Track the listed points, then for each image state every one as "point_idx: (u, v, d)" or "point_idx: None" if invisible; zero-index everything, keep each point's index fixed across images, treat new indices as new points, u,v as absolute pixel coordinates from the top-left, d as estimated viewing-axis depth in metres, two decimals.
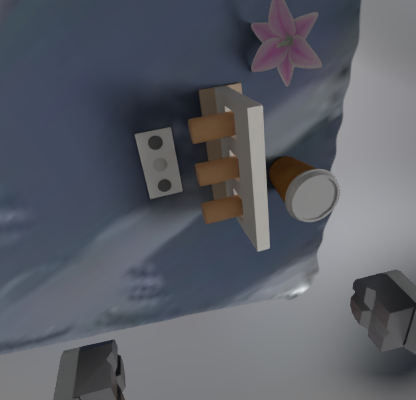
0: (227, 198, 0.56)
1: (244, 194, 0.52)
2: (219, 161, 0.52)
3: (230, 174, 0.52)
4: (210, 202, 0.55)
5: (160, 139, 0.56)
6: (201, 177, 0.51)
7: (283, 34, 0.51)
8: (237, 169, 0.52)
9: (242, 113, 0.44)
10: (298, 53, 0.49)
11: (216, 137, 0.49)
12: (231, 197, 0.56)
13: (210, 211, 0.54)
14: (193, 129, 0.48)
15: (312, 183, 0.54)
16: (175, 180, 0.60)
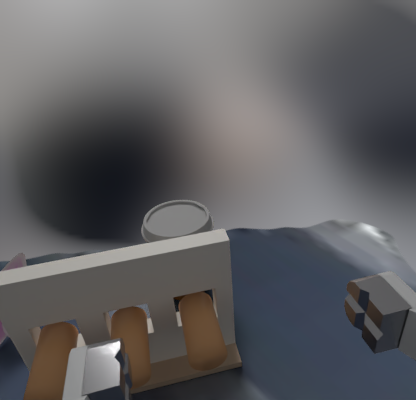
0: None
1: (153, 289, 0.33)
2: None
3: (127, 320, 0.33)
4: (186, 349, 0.32)
5: None
6: None
7: None
8: (123, 312, 0.34)
9: (4, 302, 0.30)
10: None
11: (62, 350, 0.31)
12: (181, 319, 0.35)
13: (194, 341, 0.31)
14: (31, 387, 0.28)
15: (155, 224, 0.43)
16: None
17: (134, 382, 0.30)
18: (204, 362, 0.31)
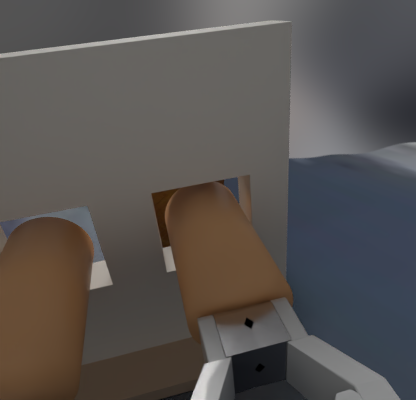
0: (171, 247, 0.14)
1: (98, 165, 0.13)
2: None
3: (32, 242, 0.13)
4: (182, 296, 0.12)
5: None
6: None
7: None
8: (27, 227, 0.14)
9: None
10: None
11: None
12: (169, 238, 0.15)
13: (203, 268, 0.11)
14: None
15: None
16: None
17: None
18: None
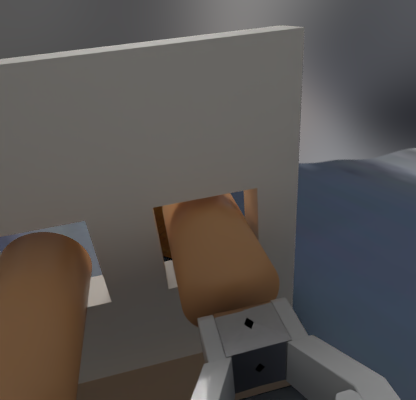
0: None
1: (96, 179, 0.12)
2: None
3: (25, 261, 0.12)
4: (177, 281, 0.13)
5: None
6: None
7: None
8: (21, 243, 0.13)
9: None
10: None
11: None
12: (166, 229, 0.16)
13: (196, 253, 0.12)
14: None
15: None
16: None
17: None
18: (221, 308, 0.12)
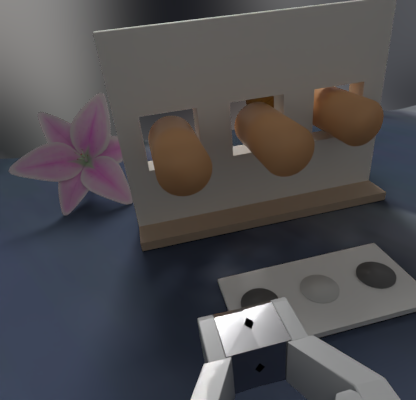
0: None
1: (294, 70, 0.26)
2: (247, 131, 0.25)
3: (265, 107, 0.25)
4: (330, 122, 0.26)
5: (249, 293, 0.22)
6: (283, 125, 0.22)
7: (77, 167, 0.36)
8: (253, 104, 0.26)
9: (116, 63, 0.23)
10: (93, 131, 0.35)
11: (190, 131, 0.24)
12: None
13: (346, 102, 0.25)
14: (168, 148, 0.21)
15: None
16: (351, 257, 0.24)
17: (291, 163, 0.23)
18: (355, 131, 0.26)
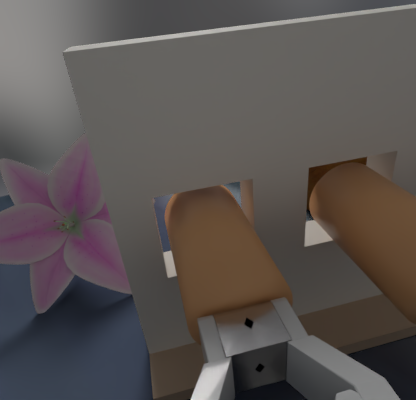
0: None
1: None
2: (347, 226, 0.14)
3: (374, 179, 0.14)
4: None
5: None
6: None
7: (58, 236, 0.25)
8: (347, 169, 0.15)
9: (112, 109, 0.12)
10: (82, 186, 0.24)
11: (242, 219, 0.13)
12: None
13: None
14: (214, 280, 0.10)
15: None
16: None
17: None
18: None
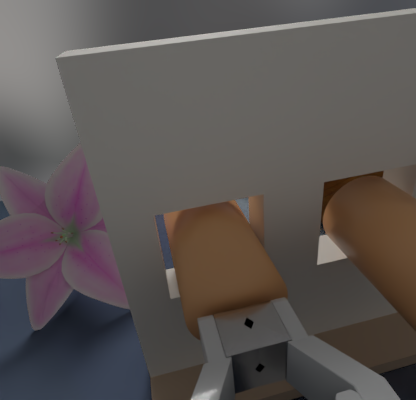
0: None
1: None
2: (367, 247, 0.13)
3: (396, 195, 0.13)
4: None
5: None
6: None
7: (56, 247, 0.24)
8: (365, 183, 0.14)
9: (110, 120, 0.11)
10: (81, 195, 0.23)
11: (239, 217, 0.14)
12: None
13: None
14: (210, 275, 0.11)
15: None
16: None
17: None
18: None
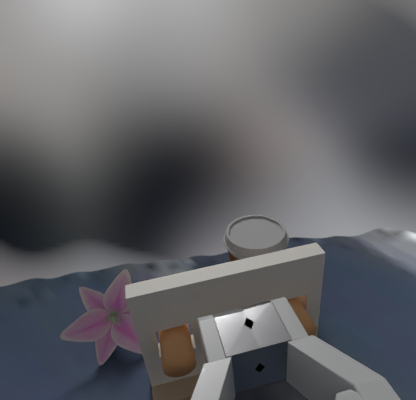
0: None
1: (257, 296, 0.39)
2: None
3: None
4: None
5: None
6: None
7: (107, 323, 0.48)
8: None
9: (140, 309, 0.36)
10: (120, 298, 0.48)
11: (183, 330, 0.39)
12: None
13: None
14: (170, 357, 0.35)
15: (237, 238, 0.49)
16: None
17: None
18: None
